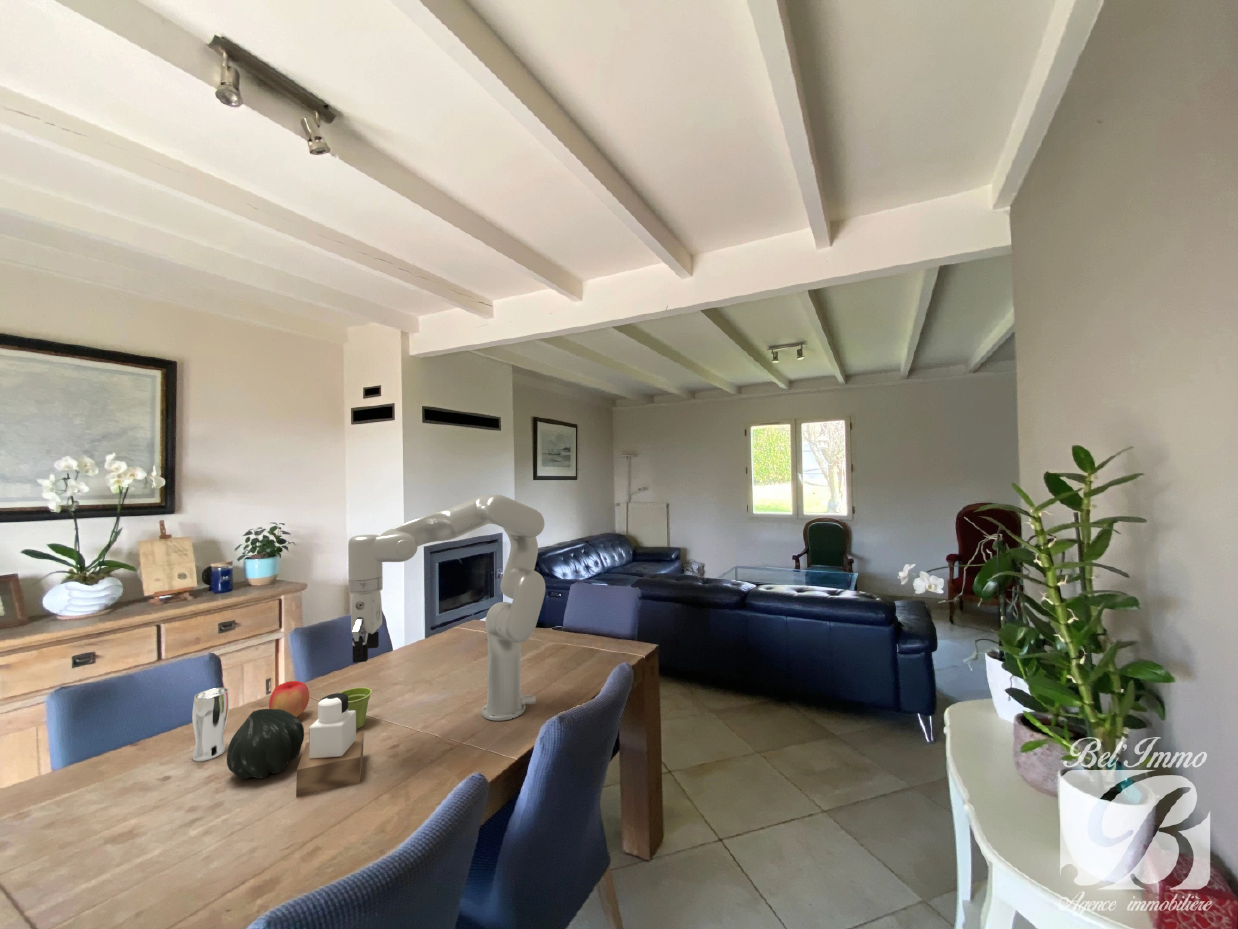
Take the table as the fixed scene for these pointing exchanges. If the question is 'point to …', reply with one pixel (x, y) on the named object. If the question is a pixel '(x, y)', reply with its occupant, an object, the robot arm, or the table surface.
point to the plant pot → (358, 703)
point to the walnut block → (330, 770)
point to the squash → (265, 743)
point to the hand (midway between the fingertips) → (366, 654)
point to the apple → (290, 697)
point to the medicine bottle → (332, 727)
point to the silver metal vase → (210, 722)
